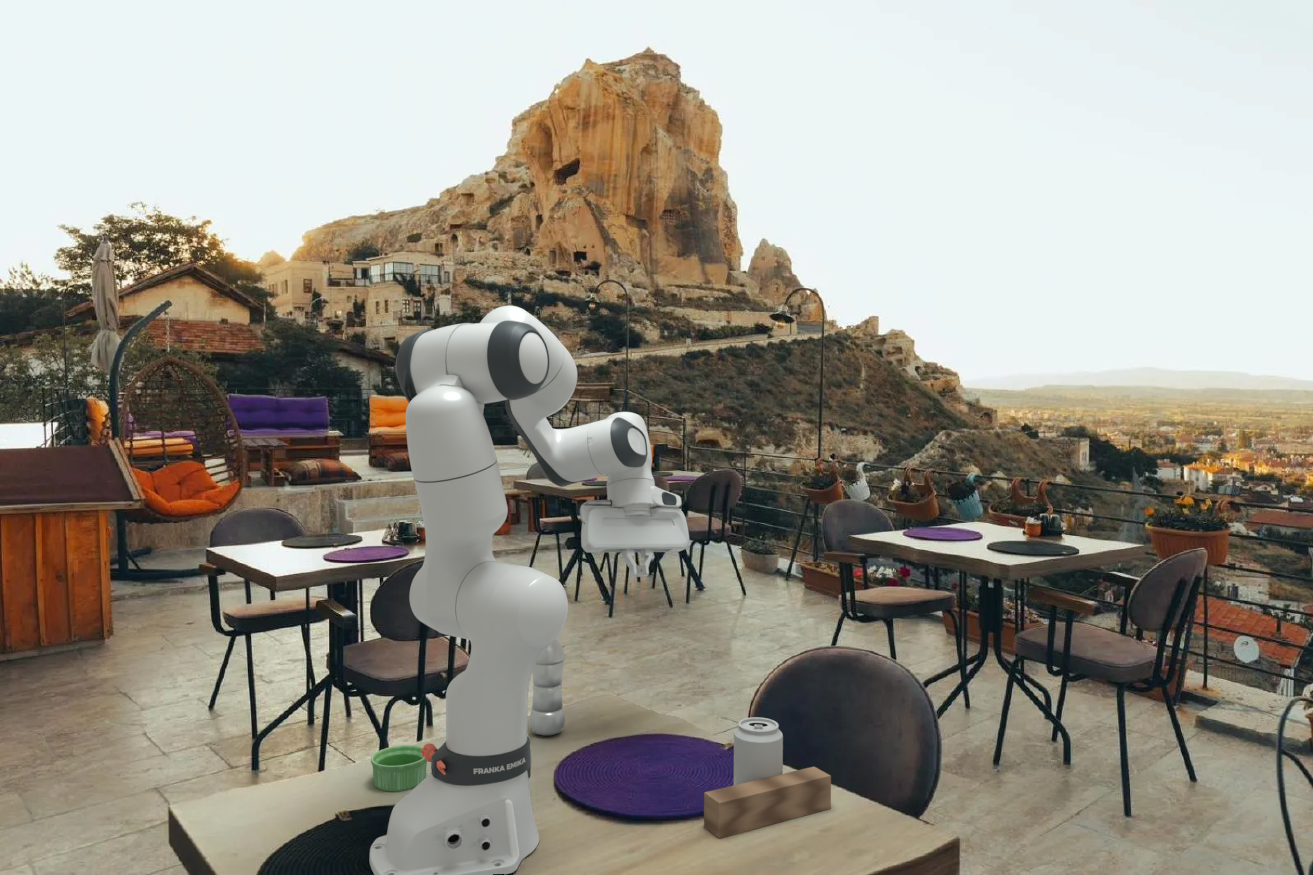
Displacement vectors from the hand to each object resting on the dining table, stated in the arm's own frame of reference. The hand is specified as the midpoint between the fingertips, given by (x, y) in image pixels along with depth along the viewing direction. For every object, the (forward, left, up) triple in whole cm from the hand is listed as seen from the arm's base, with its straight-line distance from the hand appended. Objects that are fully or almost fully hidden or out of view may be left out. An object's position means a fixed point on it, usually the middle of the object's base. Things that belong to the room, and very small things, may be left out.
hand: (639, 576), depth 153 cm
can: (+7, -26, -31) cm, 42 cm away
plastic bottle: (-11, +16, -31) cm, 37 cm away
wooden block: (+5, -32, -31) cm, 45 cm away
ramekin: (-40, +7, -31) cm, 51 cm away
